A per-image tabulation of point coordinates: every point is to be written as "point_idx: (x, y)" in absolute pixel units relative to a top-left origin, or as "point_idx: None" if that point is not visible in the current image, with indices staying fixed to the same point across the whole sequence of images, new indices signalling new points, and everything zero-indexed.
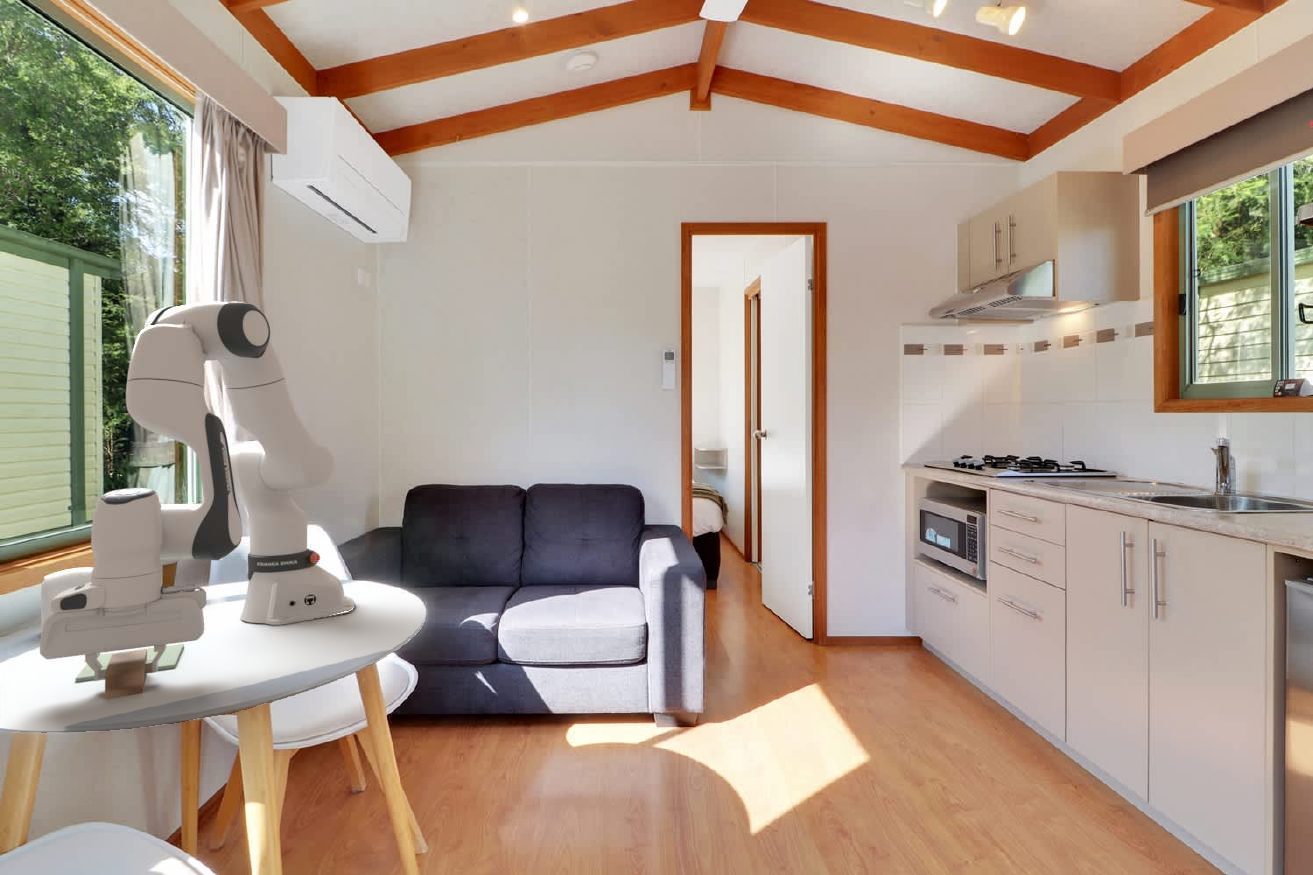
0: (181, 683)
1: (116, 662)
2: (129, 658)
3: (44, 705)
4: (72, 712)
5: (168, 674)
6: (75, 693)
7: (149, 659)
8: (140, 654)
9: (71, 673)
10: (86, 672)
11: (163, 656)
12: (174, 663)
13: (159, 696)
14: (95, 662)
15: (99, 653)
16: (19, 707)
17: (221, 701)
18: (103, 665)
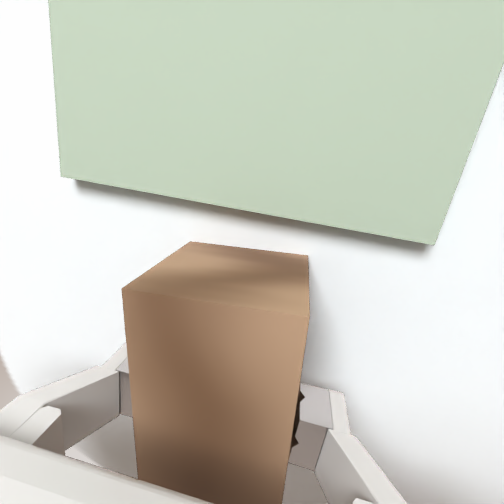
0: (400, 443)
1: (166, 449)
2: (216, 431)
3: (56, 356)
4: (132, 451)
5: (382, 316)
6: (105, 309)
7: (338, 45)
8: (268, 400)
9: (24, 13)
10: (79, 110)
11: (419, 19)
12: (436, 228)
13: (322, 496)
14: (76, 429)
15: (51, 435)
16: (2, 328)
17: None
18: (125, 17)
